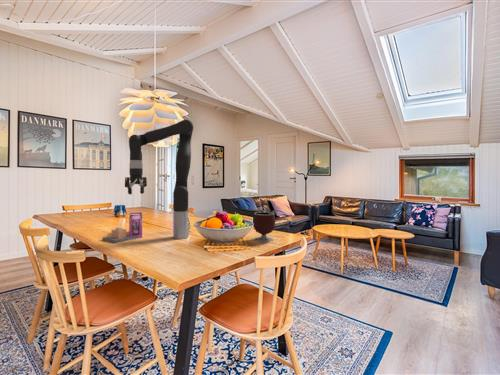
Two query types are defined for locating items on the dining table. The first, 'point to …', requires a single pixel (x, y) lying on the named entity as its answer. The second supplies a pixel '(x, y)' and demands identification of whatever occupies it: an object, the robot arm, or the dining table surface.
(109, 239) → the board
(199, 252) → the dining table surface
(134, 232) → the gum box
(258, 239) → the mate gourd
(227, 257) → the dining table surface
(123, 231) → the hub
